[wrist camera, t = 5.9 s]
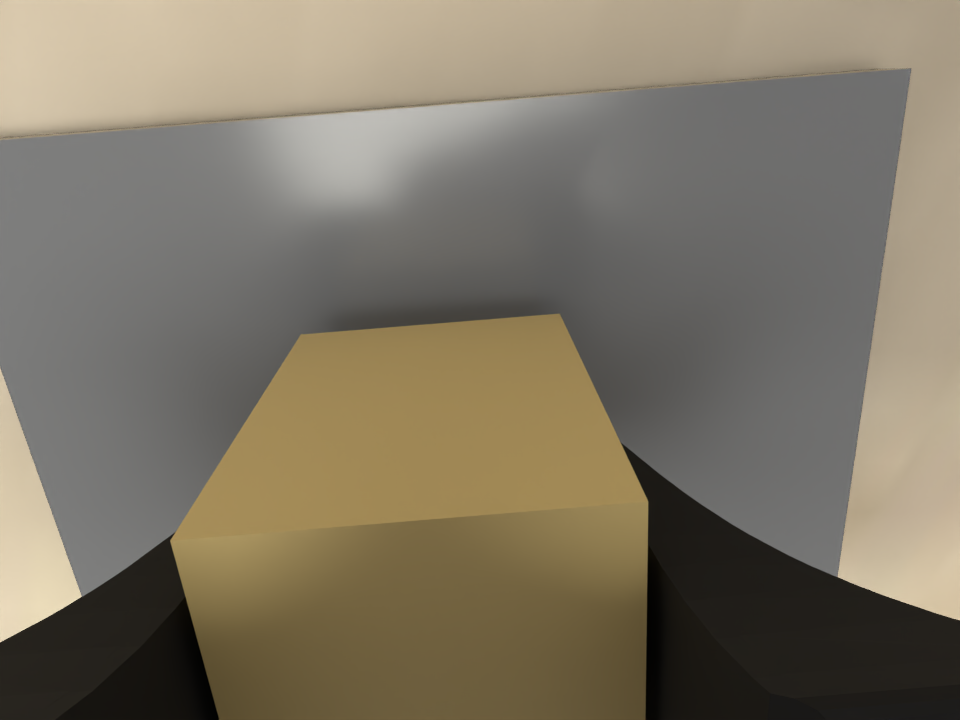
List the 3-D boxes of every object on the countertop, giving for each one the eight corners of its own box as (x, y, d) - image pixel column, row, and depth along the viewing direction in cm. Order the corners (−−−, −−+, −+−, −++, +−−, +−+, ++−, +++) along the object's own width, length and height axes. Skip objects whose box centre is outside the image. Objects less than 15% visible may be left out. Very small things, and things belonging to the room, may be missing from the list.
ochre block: (559, 313, 12) (648, 501, 7) (567, 532, 14) (644, 832, 8) (300, 334, 12) (169, 540, 7) (338, 551, 14) (259, 865, 8)
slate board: (881, 68, 14) (911, 68, 13) (814, 569, 18) (834, 595, 17) (-43, 141, 14) (-79, 146, 13) (121, 625, 18) (102, 654, 17)
